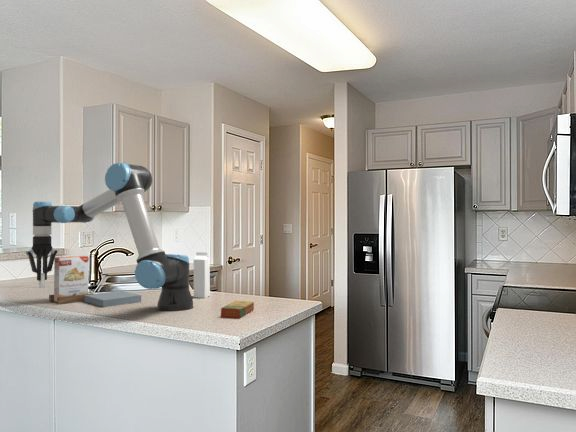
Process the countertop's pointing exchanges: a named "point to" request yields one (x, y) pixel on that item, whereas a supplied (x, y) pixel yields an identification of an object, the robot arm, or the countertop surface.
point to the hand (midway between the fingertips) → (41, 287)
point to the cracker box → (70, 276)
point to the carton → (237, 309)
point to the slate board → (112, 298)
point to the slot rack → (68, 298)
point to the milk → (201, 275)
